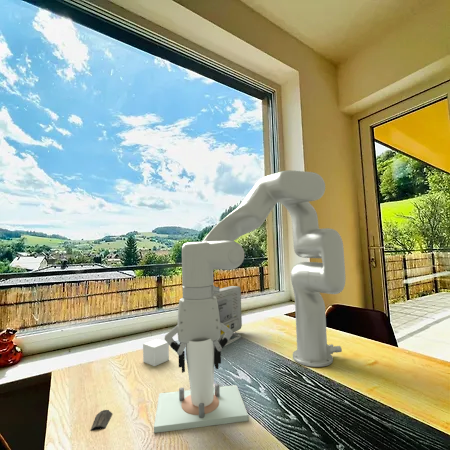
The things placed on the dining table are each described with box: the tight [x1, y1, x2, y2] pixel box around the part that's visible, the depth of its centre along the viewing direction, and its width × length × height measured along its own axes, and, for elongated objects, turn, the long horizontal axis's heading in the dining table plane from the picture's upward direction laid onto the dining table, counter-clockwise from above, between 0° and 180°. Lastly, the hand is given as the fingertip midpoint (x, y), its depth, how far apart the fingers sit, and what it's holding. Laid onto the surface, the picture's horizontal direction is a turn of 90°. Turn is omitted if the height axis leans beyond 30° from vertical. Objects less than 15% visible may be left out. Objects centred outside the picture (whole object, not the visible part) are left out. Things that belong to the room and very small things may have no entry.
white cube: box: [142, 338, 170, 367], centre depth 92 cm, size 6×6×6 cm
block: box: [90, 409, 113, 431], centre depth 61 cm, size 4×6×2 cm, turn 11°
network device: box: [214, 285, 243, 348], centre depth 110 cm, size 26×9×20 cm, turn 144°
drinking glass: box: [185, 339, 215, 407], centre depth 65 cm, size 7×7×15 cm
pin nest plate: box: [153, 383, 249, 434], centre depth 65 cm, size 20×13×4 cm, turn 99°
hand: (200, 367), depth 65 cm, fingers open, 7 cm apart
